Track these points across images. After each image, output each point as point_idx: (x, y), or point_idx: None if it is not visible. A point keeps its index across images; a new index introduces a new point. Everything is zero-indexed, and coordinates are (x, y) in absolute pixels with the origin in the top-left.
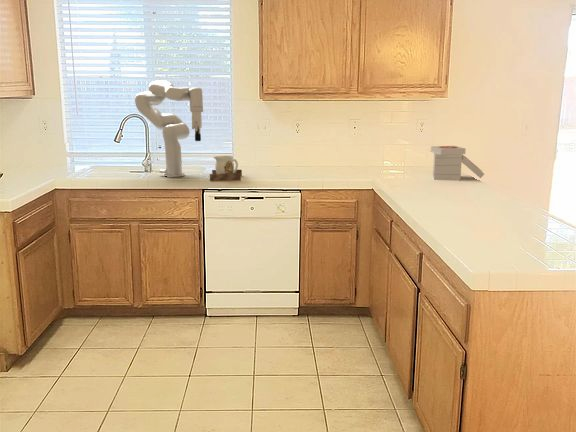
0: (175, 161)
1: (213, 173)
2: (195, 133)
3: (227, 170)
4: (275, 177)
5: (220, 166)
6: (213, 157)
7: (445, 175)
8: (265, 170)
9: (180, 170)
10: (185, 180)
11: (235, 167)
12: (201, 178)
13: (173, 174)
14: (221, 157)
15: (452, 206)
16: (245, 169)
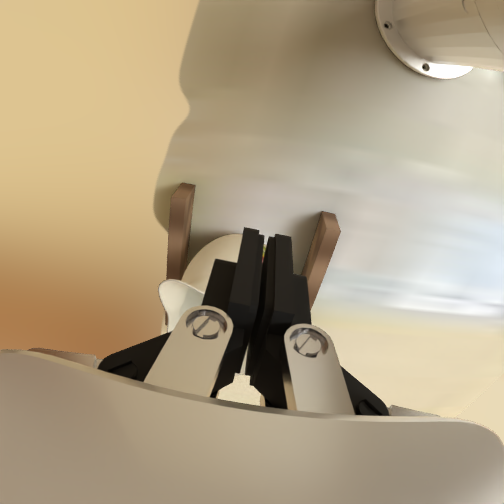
0: (429, 6)
1: (322, 225)
2: (179, 326)
3: (186, 293)
4: (223, 395)
5: (183, 278)
6: (166, 280)
7: None
8: (378, 395)
9: (419, 46)
10: (240, 51)
11: None
12: (286, 146)
13: (393, 2)
14: (168, 322)
15: None
16: (439, 352)
